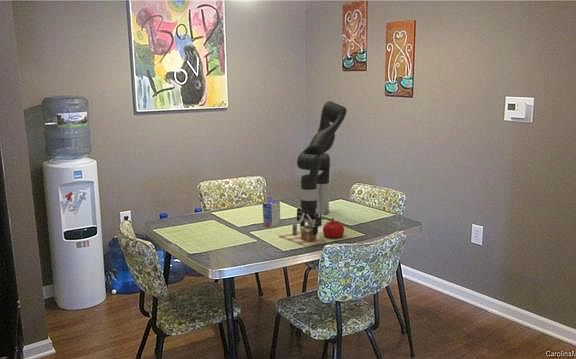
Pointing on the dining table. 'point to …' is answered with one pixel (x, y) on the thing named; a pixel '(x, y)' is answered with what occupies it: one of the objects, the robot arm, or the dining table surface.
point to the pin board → (299, 237)
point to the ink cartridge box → (271, 212)
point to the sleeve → (307, 233)
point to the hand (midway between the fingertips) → (308, 232)
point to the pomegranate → (333, 229)
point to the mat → (320, 228)
